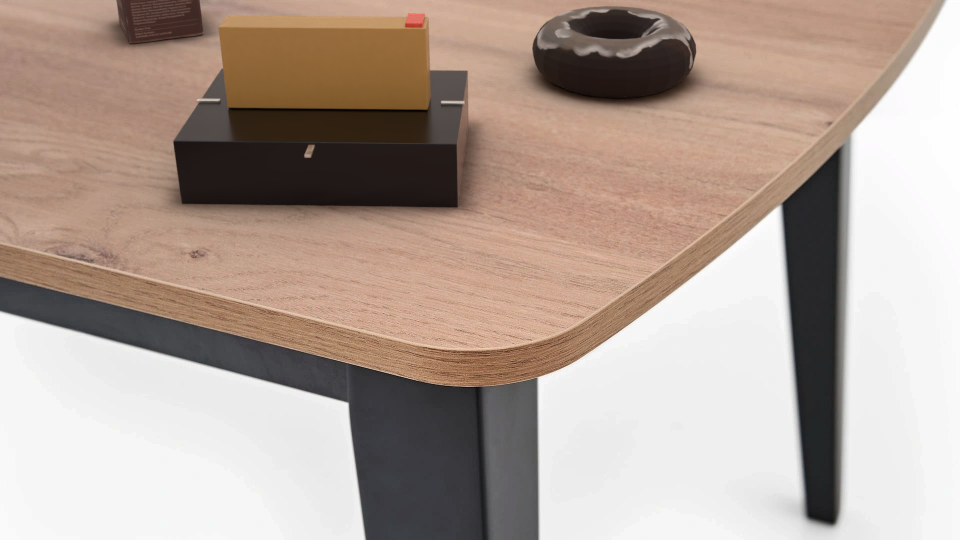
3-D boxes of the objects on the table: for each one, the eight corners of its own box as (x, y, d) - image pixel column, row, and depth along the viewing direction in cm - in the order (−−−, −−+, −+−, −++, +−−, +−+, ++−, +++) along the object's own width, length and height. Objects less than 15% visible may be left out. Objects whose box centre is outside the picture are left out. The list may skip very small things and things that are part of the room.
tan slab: (227, 108, 72) (217, 22, 70) (235, 94, 74) (226, 11, 72) (428, 110, 72) (425, 24, 69) (430, 96, 74) (428, 12, 71)
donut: (604, 119, 81) (607, 61, 79) (500, 70, 89) (500, 18, 87) (728, 82, 87) (733, 28, 85) (619, 40, 95) (621, -10, 93)
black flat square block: (170, 221, 68) (160, 153, 66) (233, 113, 82) (226, 55, 80) (457, 225, 68) (456, 156, 66) (471, 116, 82) (470, 57, 80)
